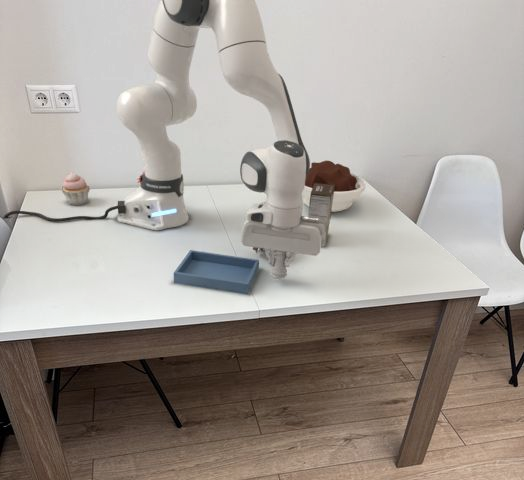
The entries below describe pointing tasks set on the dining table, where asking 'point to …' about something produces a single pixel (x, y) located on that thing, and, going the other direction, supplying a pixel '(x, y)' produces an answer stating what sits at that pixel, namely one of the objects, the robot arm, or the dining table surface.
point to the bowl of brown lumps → (337, 175)
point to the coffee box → (321, 206)
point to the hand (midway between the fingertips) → (279, 264)
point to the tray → (217, 271)
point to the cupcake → (75, 189)
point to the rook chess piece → (279, 266)
